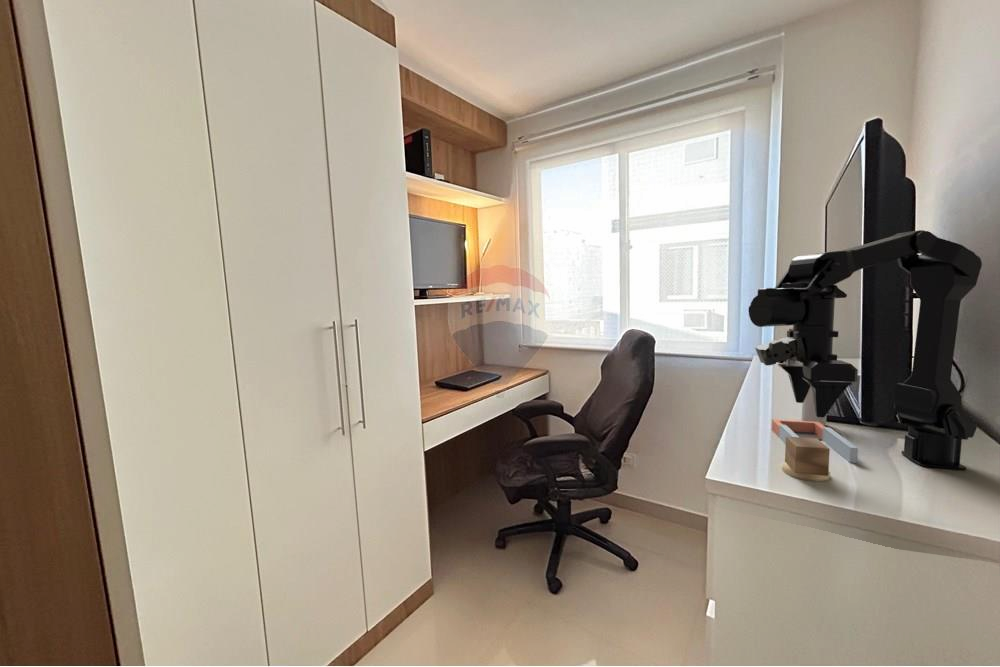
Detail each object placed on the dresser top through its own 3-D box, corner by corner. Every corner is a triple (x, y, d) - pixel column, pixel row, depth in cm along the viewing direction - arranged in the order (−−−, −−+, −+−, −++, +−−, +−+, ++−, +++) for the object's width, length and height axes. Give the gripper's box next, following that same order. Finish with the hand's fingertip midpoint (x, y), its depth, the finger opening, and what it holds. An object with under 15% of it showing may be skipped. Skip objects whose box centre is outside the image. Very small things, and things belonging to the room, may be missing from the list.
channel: (828, 440, 88) (829, 427, 88) (857, 463, 77) (858, 448, 77) (779, 437, 91) (779, 424, 91) (799, 458, 80) (799, 443, 80)
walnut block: (815, 464, 75) (817, 438, 75) (828, 475, 71) (829, 448, 70) (784, 461, 77) (785, 436, 76) (794, 472, 72) (796, 446, 72)
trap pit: (818, 432, 93) (818, 421, 93) (828, 440, 88) (829, 429, 88) (771, 429, 96) (771, 419, 96) (779, 437, 91) (779, 426, 91)
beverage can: (830, 427, 96) (832, 378, 95) (807, 426, 97) (809, 378, 96) (818, 421, 101) (821, 374, 100) (797, 420, 102) (799, 374, 101)
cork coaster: (819, 466, 76) (820, 462, 76) (837, 483, 69) (837, 479, 69) (776, 462, 78) (777, 458, 78) (789, 478, 72) (789, 474, 72)
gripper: (747, 320, 83) (745, 394, 84) (777, 329, 65) (774, 422, 67) (811, 320, 79) (808, 397, 81) (862, 329, 62) (856, 427, 63)
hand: (809, 409), depth 73 cm, fingers open, 9 cm apart
